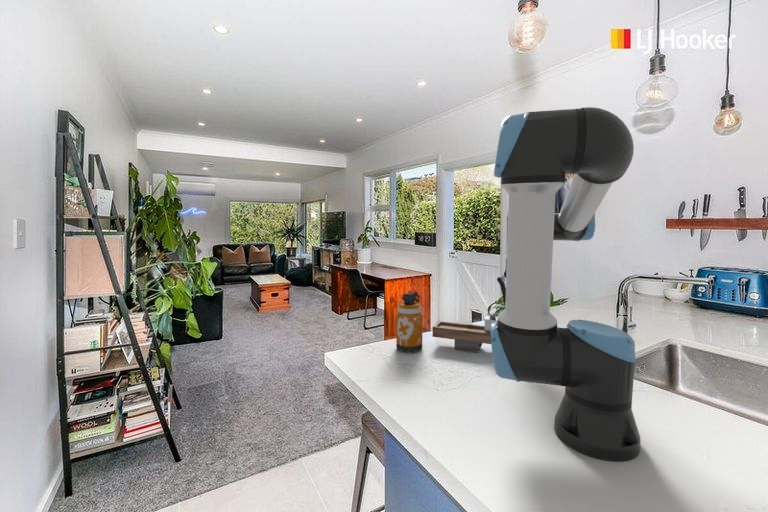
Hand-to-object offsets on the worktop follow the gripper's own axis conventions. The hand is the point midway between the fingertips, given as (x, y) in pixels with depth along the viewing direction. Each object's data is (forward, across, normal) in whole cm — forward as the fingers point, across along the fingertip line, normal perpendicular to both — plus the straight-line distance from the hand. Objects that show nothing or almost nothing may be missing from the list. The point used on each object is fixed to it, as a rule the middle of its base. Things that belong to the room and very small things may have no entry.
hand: (516, 328), depth 118 cm
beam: (+9, +16, 0) cm, 18 cm away
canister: (+9, +34, +7) cm, 36 cm away
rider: (+2, +8, 0) cm, 8 cm away
